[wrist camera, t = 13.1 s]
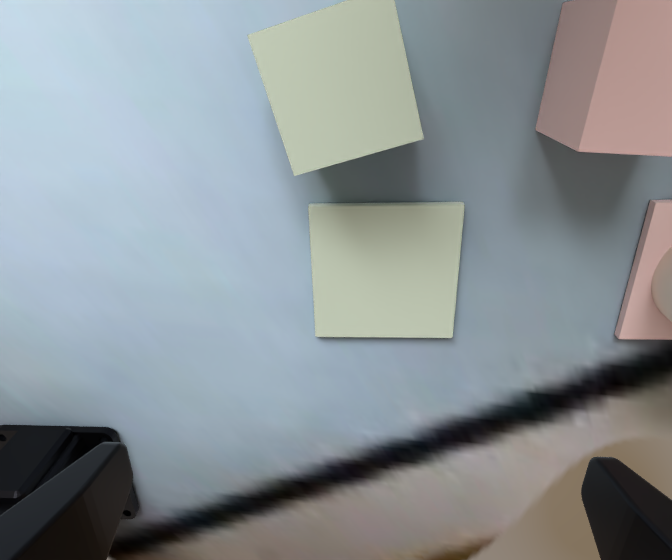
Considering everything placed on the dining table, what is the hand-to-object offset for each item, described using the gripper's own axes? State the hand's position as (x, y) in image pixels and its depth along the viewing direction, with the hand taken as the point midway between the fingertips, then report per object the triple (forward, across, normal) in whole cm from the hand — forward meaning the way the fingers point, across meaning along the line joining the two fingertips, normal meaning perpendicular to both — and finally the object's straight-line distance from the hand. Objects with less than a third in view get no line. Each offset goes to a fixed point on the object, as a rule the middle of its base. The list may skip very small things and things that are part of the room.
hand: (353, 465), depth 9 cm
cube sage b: (+12, 0, -6) cm, 13 cm away
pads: (+11, -8, +1) cm, 14 cm away
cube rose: (+11, -8, -7) cm, 16 cm away
